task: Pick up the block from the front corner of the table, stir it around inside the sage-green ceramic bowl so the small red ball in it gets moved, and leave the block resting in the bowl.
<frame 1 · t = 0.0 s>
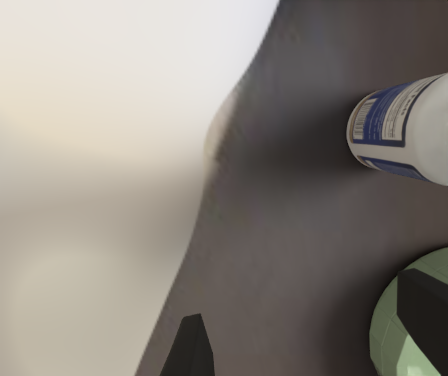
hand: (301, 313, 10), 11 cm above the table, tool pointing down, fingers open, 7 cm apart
pill bottle: (380, 129, 20), on the table
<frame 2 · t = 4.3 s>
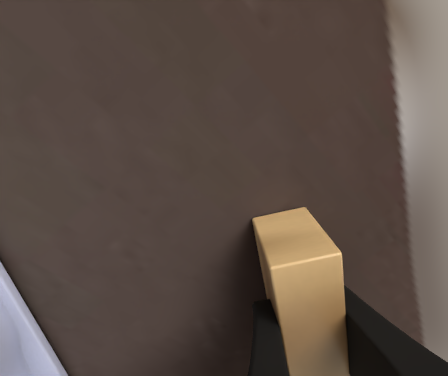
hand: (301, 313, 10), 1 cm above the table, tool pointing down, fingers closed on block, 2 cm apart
block: (289, 287, 12), on the table, touching gripper
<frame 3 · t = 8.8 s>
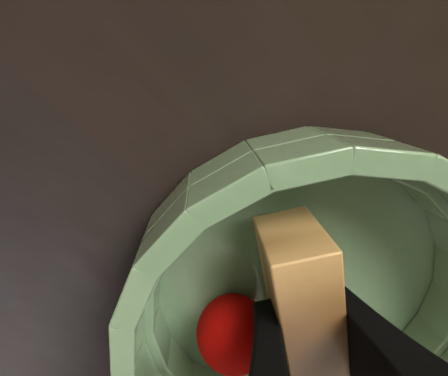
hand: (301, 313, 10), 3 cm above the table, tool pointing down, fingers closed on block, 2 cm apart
block: (290, 286, 12), point 2 cm above the table, touching gripper
bowl: (294, 281, 13), on the table
ball: (233, 332, 12), point 2 cm above the table, tilted 7°, touching bowl, gripper
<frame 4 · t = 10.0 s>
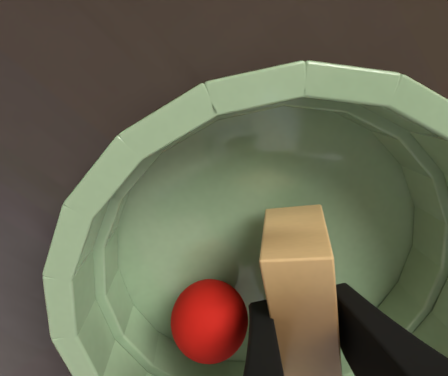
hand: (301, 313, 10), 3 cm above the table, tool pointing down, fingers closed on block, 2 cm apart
block: (301, 280, 12), point 1 cm above the table, tilted 16°, touching gripper
bowl: (265, 247, 13), on the table
ball: (209, 319, 11), point 2 cm above the table, tilted 38°, touching bowl
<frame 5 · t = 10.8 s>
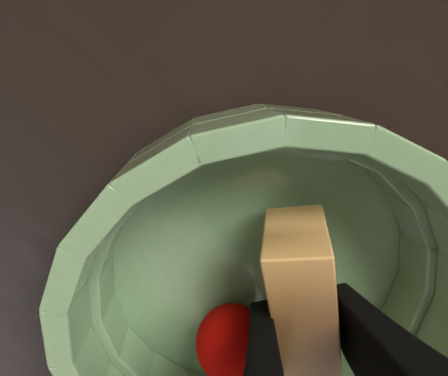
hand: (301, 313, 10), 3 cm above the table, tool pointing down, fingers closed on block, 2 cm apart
block: (302, 280, 12), point 1 cm above the table, tilted 16°, touching gripper
bowl: (257, 270, 13), on the table
ball: (232, 342, 12), point 2 cm above the table, tilted 65°, touching bowl, gripper
when the fingers open (3 cm above the table, at t = 11.4 s): block stays where it is, resting on bowl.
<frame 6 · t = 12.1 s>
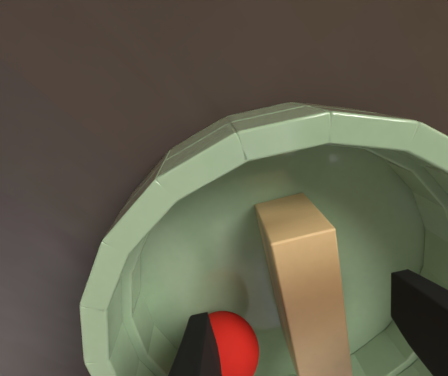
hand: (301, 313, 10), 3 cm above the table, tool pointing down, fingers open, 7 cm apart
block: (292, 269, 12), point 1 cm above the table, touching bowl
bowl: (281, 268, 13), on the table
ball: (222, 350, 12), point 2 cm above the table, tilted 58°, touching bowl, gripper
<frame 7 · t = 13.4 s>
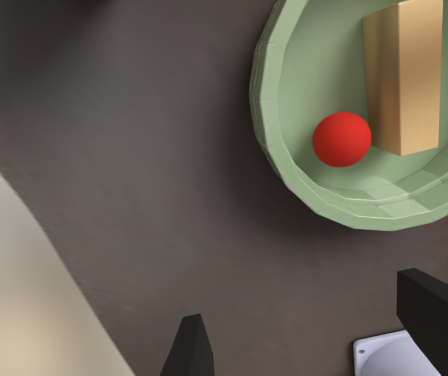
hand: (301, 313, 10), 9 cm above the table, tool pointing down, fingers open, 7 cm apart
block: (382, 81, 16), point 1 cm above the table, touching bowl
bowl: (370, 88, 17), on the table
ball: (340, 140, 16), point 2 cm above the table, tilted 67°, touching bowl
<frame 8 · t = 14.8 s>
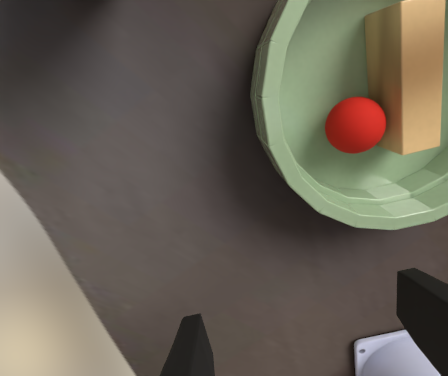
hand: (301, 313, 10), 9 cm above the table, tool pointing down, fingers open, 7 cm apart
block: (384, 80, 16), point 1 cm above the table, touching bowl
bowl: (372, 87, 17), on the table
ball: (354, 125, 15), point 2 cm above the table, tilted 45°, touching bowl
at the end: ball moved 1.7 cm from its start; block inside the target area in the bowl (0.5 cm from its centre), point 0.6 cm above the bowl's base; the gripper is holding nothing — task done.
